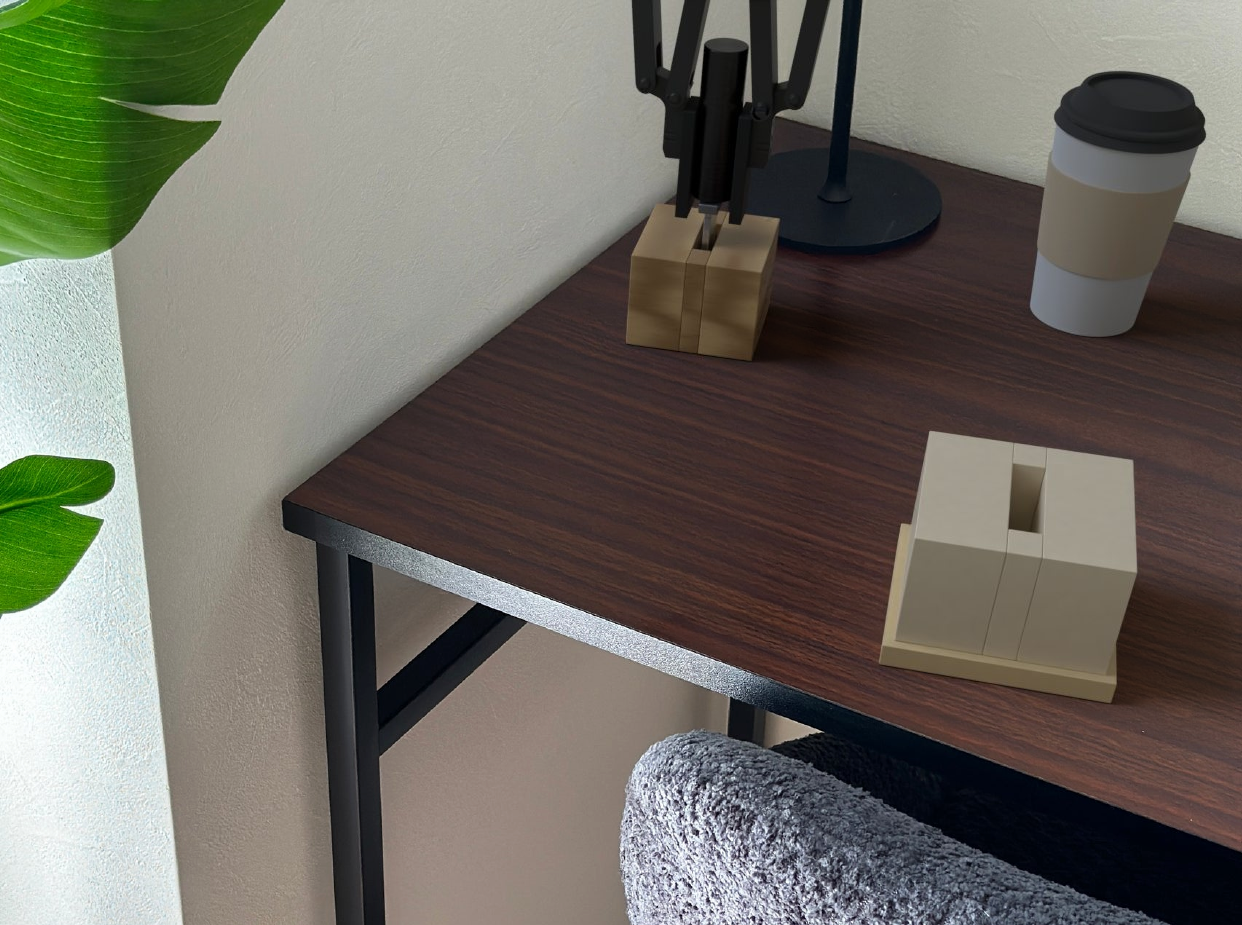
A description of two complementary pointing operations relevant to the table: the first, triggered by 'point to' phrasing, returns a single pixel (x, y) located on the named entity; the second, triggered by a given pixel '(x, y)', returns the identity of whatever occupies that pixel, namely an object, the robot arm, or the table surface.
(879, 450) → the table surface
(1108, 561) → the slotted block on base
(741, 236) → the knife block
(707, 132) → the knife
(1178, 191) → the coffee cup
